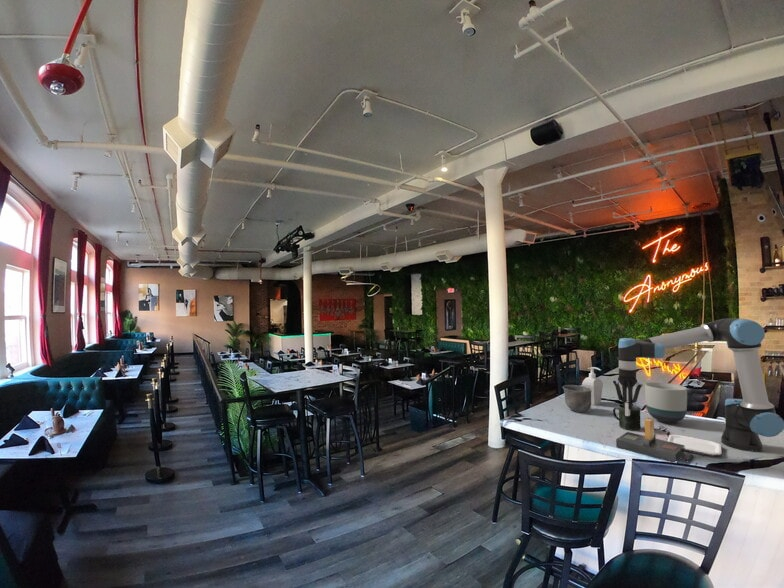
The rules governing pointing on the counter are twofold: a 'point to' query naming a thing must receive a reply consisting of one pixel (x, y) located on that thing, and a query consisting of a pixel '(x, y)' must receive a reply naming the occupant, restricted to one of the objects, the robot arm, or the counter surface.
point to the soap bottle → (594, 386)
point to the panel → (651, 447)
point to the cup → (577, 397)
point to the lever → (649, 429)
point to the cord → (689, 457)
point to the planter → (666, 401)
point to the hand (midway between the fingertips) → (627, 415)
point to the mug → (628, 418)
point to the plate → (697, 445)
